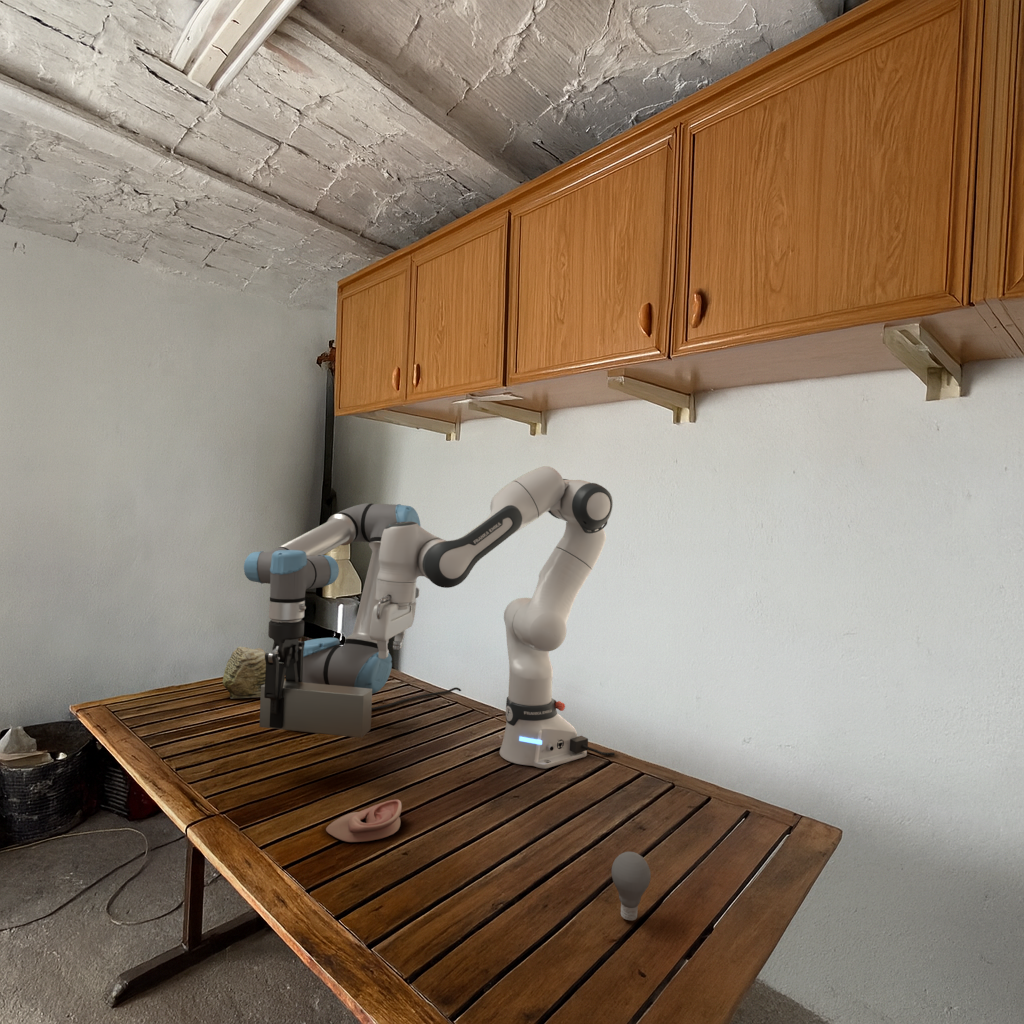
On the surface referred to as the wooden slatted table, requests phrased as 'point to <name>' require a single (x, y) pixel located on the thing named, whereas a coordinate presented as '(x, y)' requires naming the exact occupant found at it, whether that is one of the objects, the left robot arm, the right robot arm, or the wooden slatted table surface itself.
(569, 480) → the right robot arm
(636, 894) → the light bulb
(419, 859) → the wooden slatted table surface
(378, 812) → the anatomical model
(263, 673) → the fossil
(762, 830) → the wooden slatted table surface
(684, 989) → the wooden slatted table surface
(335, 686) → the bar
